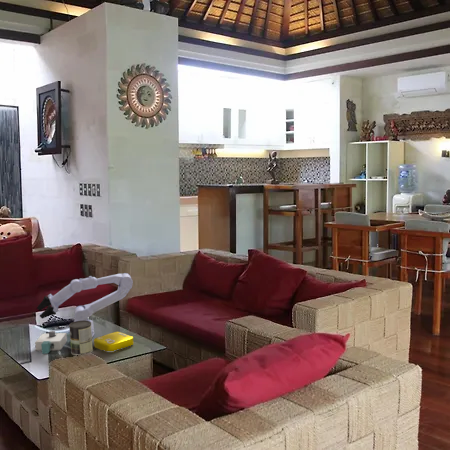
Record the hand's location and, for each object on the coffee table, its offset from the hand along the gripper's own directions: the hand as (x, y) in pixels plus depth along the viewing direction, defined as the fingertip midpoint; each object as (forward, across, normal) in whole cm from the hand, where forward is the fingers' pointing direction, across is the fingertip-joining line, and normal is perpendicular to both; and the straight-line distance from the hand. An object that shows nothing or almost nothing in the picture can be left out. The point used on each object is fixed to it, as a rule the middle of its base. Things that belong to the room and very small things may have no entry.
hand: (39, 313), depth 283 cm
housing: (+4, +13, +12) cm, 18 cm away
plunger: (+1, +10, +9) cm, 14 cm away
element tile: (-21, +29, +23) cm, 43 cm away
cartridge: (+5, +16, +10) cm, 19 cm away
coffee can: (-8, +29, +14) cm, 33 cm away
